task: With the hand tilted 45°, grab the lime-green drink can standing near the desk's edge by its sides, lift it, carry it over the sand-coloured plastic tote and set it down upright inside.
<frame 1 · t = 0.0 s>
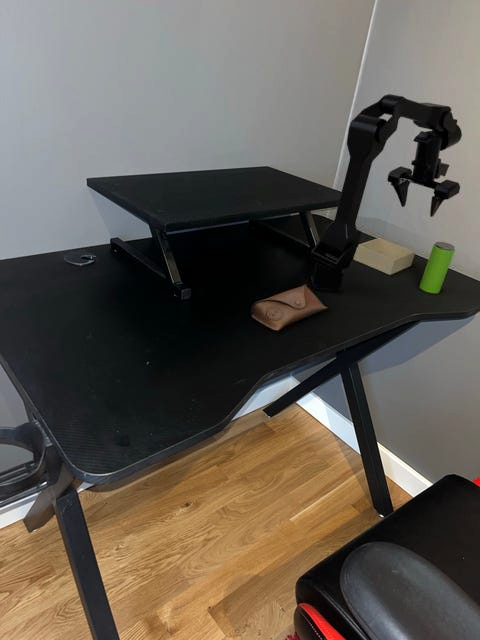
hand: (417, 211, 128), 15 cm above the table, tool pointing down, fingers open, 9 cm apart
drink can: (429, 288, 121), on the table
tote: (382, 262, 134), on the table
sunglasses case: (290, 313, 102), on the table
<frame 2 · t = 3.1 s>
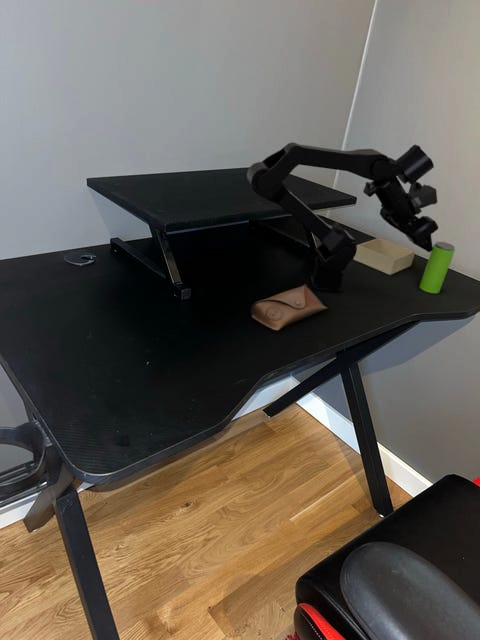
hand: (421, 243, 114), 12 cm above the table, tool tilted 45°, fingers open, 9 cm apart
nothing on the table moved.
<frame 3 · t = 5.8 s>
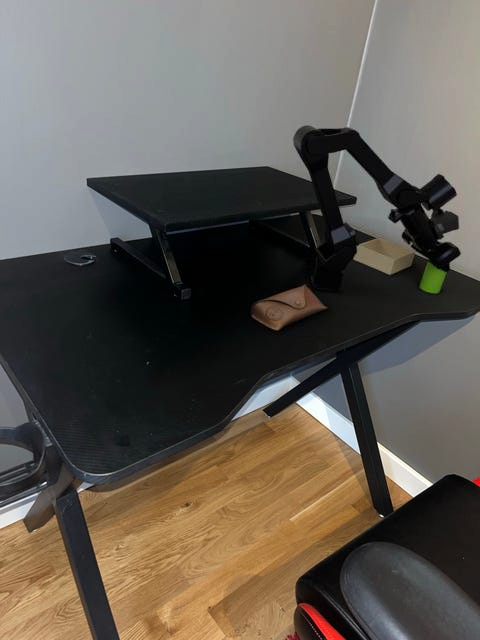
hand: (442, 266, 118), 7 cm above the table, tool tilted 45°, fingers closed on drink can, 5 cm apart
drink can: (429, 288, 121), on the table, touching gripper
everything else where it was.
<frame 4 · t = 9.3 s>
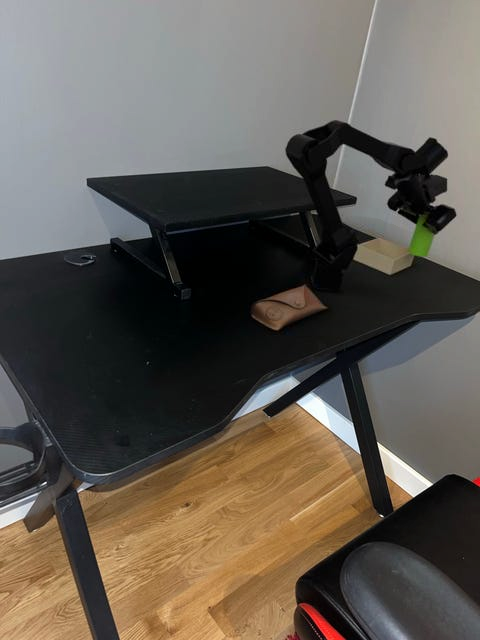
hand: (429, 229, 121), 13 cm above the table, tool tilted 45°, fingers closed on drink can, 5 cm apart
drink can: (417, 253, 124), point 7 cm above the table, touching gripper
everything else where it was.
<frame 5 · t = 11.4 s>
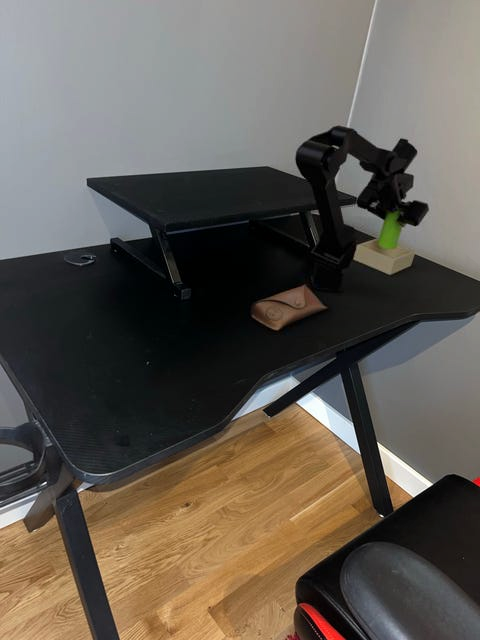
hand: (395, 223, 129), 12 cm above the table, tool tilted 45°, fingers closed on drink can, 5 cm apart
drink can: (386, 245, 131), point 5 cm above the table, touching gripper
everything else where it was.
when the fingers open (7 cm above the table, at t = 13.2 s): drink can stays where it is, resting on tote.
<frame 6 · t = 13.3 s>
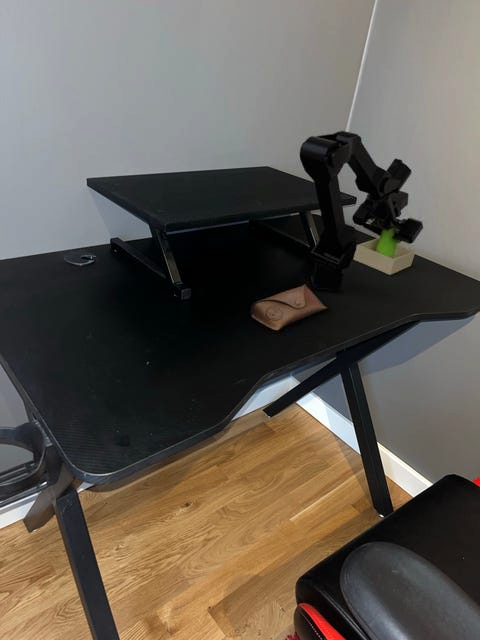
hand: (391, 238, 131), 7 cm above the table, tool tilted 45°, fingers open, 5 cm apart
drink can: (382, 260, 134), point 1 cm above the table, touching tote
everything else where it was.
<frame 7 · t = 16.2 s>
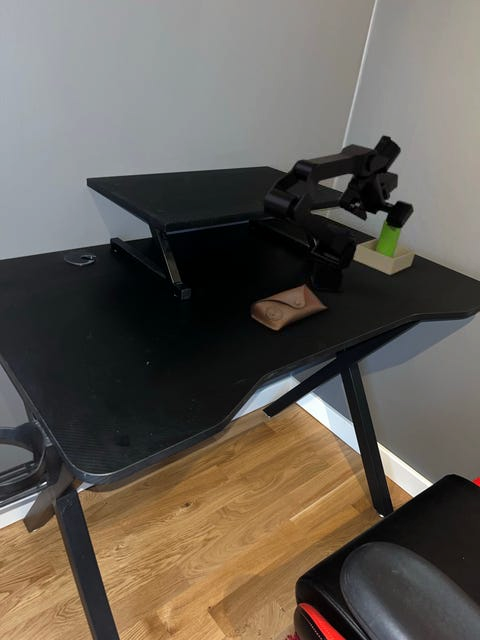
hand: (380, 224, 123), 13 cm above the table, tool tilted 45°, fingers open, 9 cm apart
nothing on the table moved.
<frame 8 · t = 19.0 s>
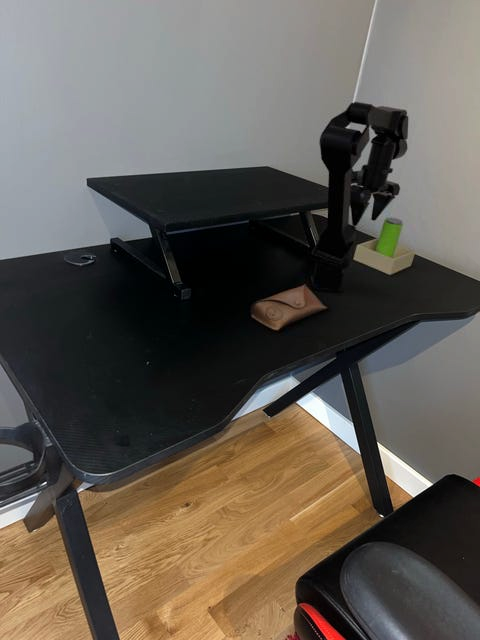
hand: (363, 222, 122), 13 cm above the table, tool pointing down, fingers open, 9 cm apart
nothing on the table moved.
at the end: drink can inside the target area in the tote (0.1 cm from its centre), point 0.5 cm above the tote's base; drink can tilted 0°; the gripper is holding nothing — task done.
